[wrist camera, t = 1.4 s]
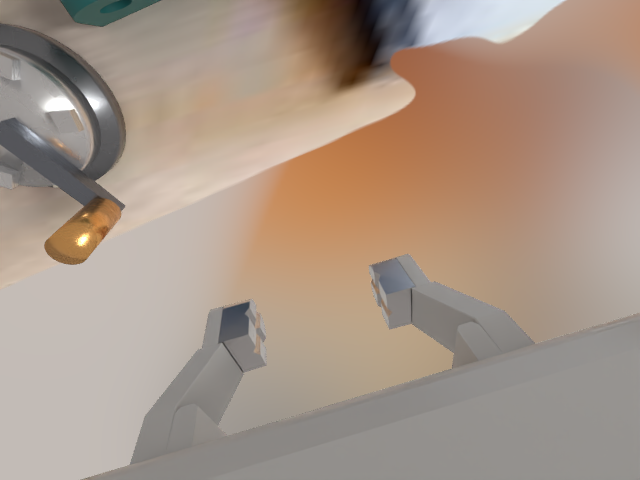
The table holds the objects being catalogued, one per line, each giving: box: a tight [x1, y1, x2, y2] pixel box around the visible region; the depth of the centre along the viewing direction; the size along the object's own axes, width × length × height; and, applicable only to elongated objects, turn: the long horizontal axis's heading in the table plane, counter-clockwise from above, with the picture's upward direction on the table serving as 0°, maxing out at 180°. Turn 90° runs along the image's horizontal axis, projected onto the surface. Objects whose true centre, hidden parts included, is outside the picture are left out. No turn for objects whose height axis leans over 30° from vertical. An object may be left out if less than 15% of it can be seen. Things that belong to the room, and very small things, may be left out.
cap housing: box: [0, 23, 126, 188], centre depth 29 cm, size 15×15×2 cm
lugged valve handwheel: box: [0, 44, 125, 265], centre depth 24 cm, size 18×12×12 cm
